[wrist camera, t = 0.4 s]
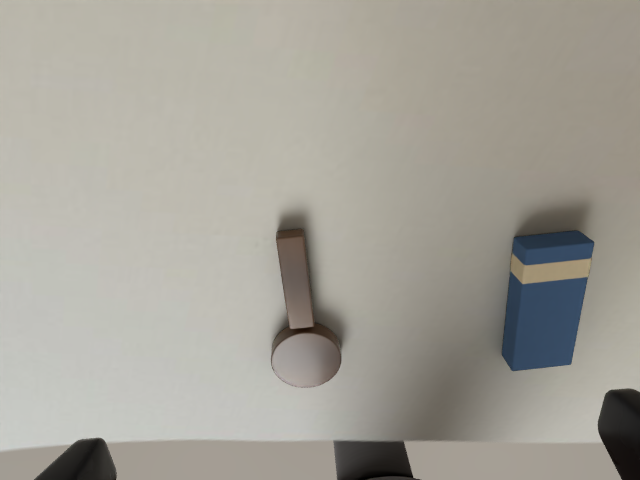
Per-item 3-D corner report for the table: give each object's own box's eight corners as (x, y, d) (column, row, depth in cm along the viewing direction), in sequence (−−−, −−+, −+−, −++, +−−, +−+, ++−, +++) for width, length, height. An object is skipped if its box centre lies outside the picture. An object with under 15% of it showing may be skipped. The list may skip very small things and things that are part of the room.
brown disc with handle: (342, 372, 27) (343, 384, 26) (276, 379, 27) (276, 391, 26) (328, 225, 23) (329, 233, 22) (251, 233, 23) (249, 242, 22)
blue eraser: (558, 348, 27) (572, 365, 26) (500, 354, 27) (511, 372, 26) (578, 229, 24) (596, 241, 22) (512, 236, 24) (526, 249, 22)
